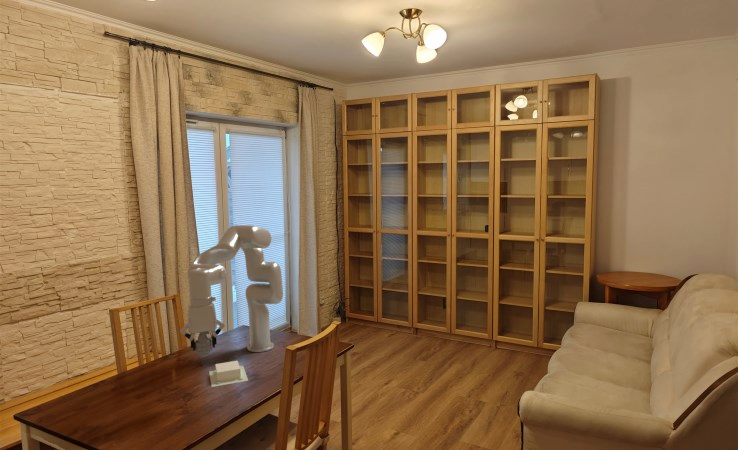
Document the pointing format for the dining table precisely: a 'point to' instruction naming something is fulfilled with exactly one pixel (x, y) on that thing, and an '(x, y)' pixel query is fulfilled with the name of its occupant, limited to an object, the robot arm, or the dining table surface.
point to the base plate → (218, 383)
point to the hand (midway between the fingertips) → (203, 347)
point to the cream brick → (228, 371)
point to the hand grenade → (203, 344)
